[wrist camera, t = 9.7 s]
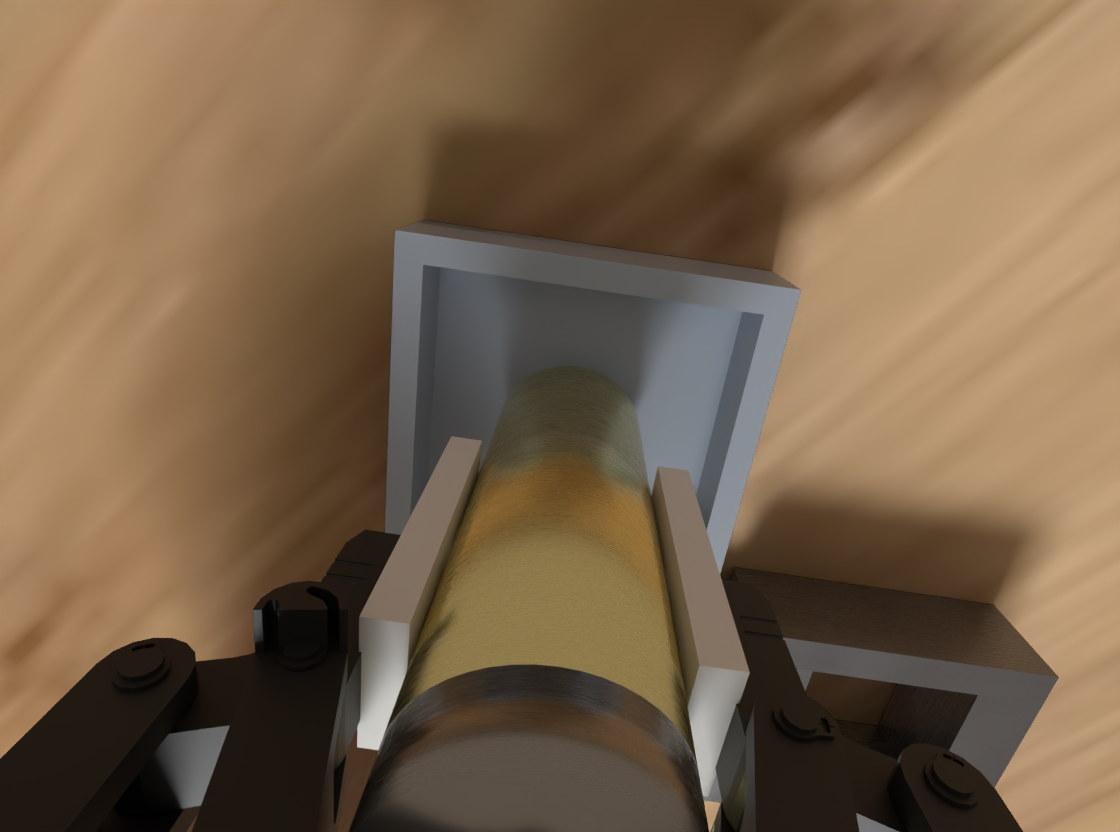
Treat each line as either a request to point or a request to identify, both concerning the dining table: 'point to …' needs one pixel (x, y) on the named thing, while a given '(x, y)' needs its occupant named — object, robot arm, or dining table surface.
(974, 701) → the bar
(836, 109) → the dining table surface
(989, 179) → the dining table surface
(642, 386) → the tray
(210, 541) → the dining table surface
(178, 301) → the dining table surface
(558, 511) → the pin
